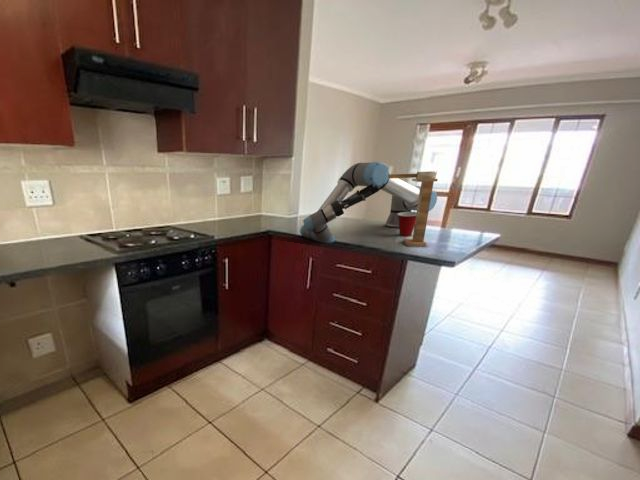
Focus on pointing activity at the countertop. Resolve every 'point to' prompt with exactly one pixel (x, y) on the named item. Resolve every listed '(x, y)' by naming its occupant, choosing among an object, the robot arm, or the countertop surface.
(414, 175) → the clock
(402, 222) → the plastic cup
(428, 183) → the stand
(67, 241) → the countertop surface
